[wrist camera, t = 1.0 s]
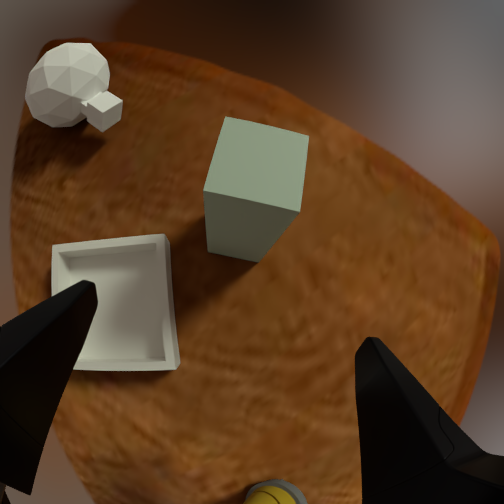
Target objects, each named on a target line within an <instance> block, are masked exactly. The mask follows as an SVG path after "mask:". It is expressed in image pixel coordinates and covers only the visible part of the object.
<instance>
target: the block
mask: <svg viewBox="0 0 504 504" xmlns="http://www.w3.org/2000/svg"><path fill="white" fill-rule="evenodd" d="M308 140H309V136H306V135H303V134H299V133H296V132H292V131H288V130H284V129H280V128H276V127H272V126H268V125H263V124H259V123H255V122H250V121H245V120H240V119H235V118H230V117H225V120H224V123H223V126H222V129H221V132H220V136H219V139H218V142H217V145H216V148H215V152H214V155H213V158H212V162H211V165H210V169H209V172H208V176H207V179H206V183H205V186H204V190H203V194H204V210H205V224H206V237H207V249H208V252H211V253H215V254H220V255H225V256H230V257H234V258H239V259H244V260H249V261H253V262H258V263H259V262H260V260H261V259H262V258H263V257H264V256H265V254H266V253H267V252H268V251H269V249H270V248H271V247H272V246H273V244H274V243H275V242H276V241H277V240H278V238H279V237H280V236H281V235H282V233H283V232H284V231H285V230H286V229H287V227H288V226H289V225H290V224H291V222H292V221H293V220H294V219H295V217H296V216H297V215H298V214H299V212H300V208H301V200H302V192H303V184H304V176H305V167H306V158H307V149H308Z"/></svg>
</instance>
